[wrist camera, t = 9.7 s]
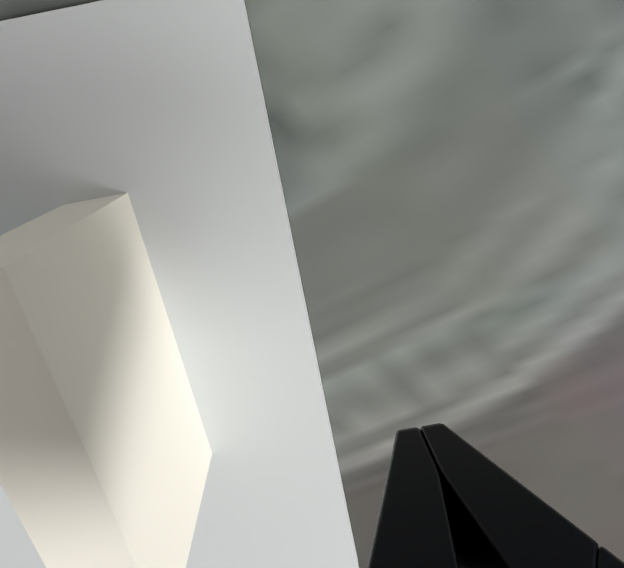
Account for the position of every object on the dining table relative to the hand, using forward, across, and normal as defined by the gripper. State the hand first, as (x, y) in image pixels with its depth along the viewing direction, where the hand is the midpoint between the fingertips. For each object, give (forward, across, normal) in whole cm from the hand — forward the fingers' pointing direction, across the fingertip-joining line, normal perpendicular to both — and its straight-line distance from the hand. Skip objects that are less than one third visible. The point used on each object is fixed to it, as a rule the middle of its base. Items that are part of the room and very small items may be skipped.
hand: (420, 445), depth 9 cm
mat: (+7, +10, +1) cm, 12 cm away
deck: (+6, +7, 0) cm, 9 cm away
